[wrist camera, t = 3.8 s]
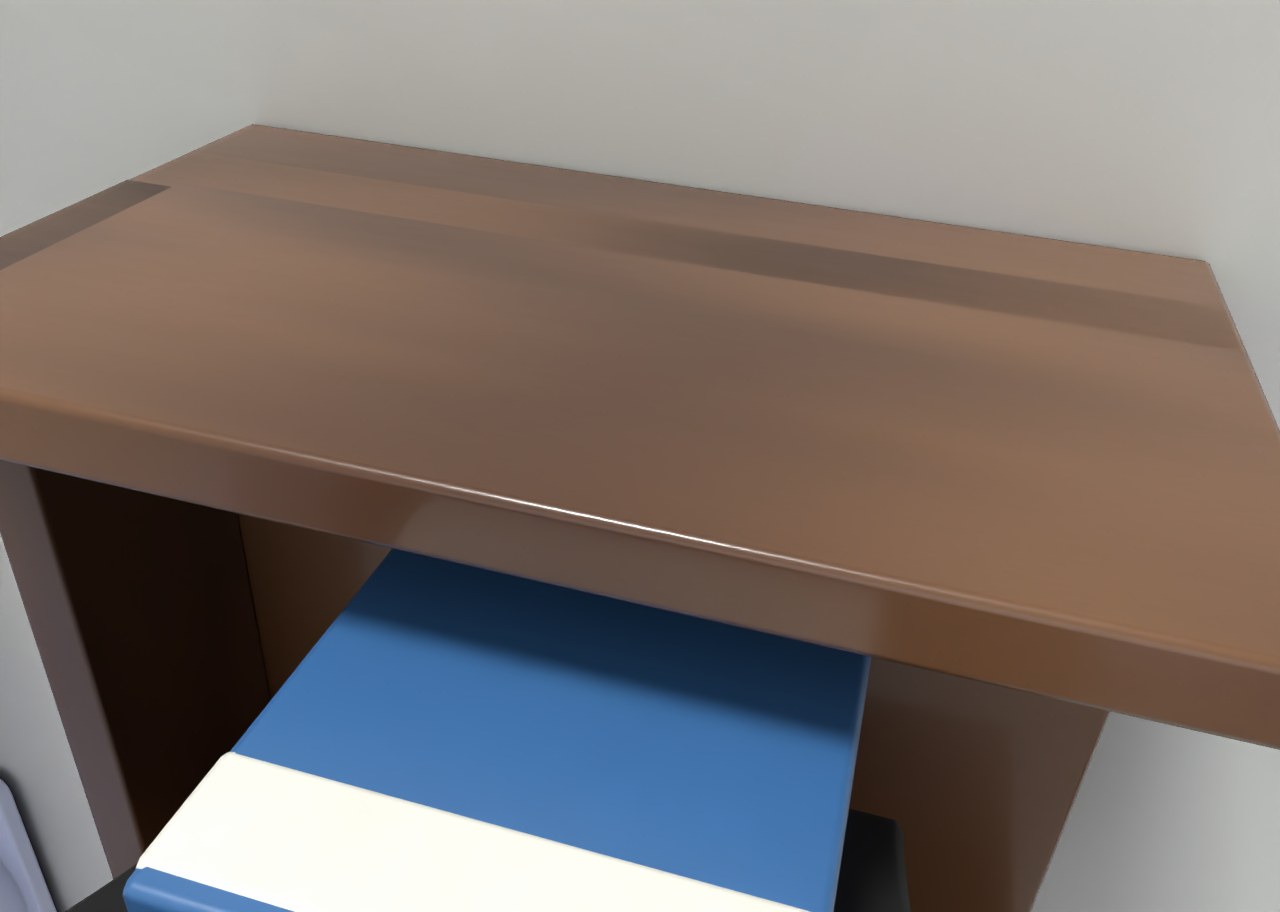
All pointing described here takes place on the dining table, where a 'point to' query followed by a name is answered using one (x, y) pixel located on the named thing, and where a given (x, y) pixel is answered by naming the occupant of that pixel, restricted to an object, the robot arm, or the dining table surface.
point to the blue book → (524, 763)
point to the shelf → (634, 461)
